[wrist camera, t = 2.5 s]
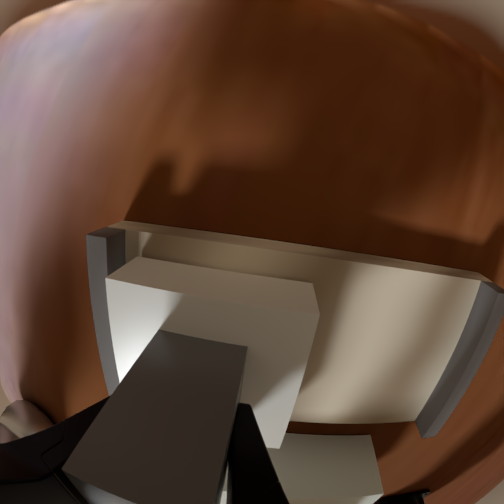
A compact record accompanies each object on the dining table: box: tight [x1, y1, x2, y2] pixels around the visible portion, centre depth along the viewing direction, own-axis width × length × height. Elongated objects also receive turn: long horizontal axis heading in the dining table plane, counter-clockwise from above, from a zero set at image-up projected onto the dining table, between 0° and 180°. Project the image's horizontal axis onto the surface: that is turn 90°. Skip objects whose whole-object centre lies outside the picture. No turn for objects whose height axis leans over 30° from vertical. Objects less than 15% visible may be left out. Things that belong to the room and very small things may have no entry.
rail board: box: [86, 221, 504, 438], centre depth 12 cm, size 18×9×3 cm, turn 83°
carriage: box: [62, 256, 320, 504], centre depth 8 cm, size 7×7×8 cm
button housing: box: [220, 433, 384, 504], centre depth 14 cm, size 9×7×5 cm
